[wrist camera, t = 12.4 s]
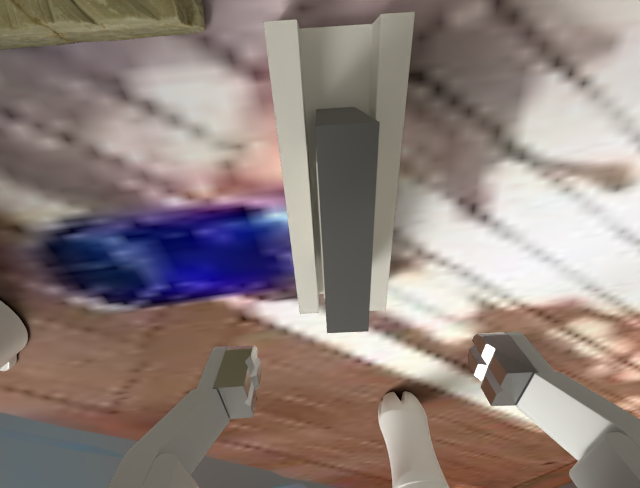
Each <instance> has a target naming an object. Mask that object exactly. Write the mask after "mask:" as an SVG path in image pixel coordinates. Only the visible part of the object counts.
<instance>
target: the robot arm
mask: <svg viewBox="0 0 640 488" xmlns="http://www.w3.org/2000/svg"><path fill="white" fill-rule="evenodd" d="M27 341H28V334H27V330H26V328H25V326H24V324H23V322H22V321H21V320H20V318H19V317H18V316H17V315H16V314H15V313H14V312H13V311H12V310H11V309H10V308H9V307H8V306H7V305H5V304H4V303H3V302H2V301H0V371H6V370H8V369H10V368H11V367H12V366H14V365H15V364H16V361H17V353H18V352H19V351H21V350H22V349H23V348H24V347H25V346H26V344H27ZM472 341H473V343H474V346H473V347H471V348H470V349H469V352H468V363H469V366H470V368H471V370H472V372H473V374H474V376H476V377H477V378H478V379H480V380H481V381H482V382H481V389H482V390H483V392H484V394H485V396H486V397H487V399H488V401H489V403H490V405H491V406H506V405H517V406H516V407H517V408H518V409H519V410H520V411H522V412H523V413H524V414H525V415H526V416H527V417H528V418H530V419H531V420H532V421H533V422H534V423H535V424H537V425H538V426H539V427H540V428H541V429H542V430H543V431H545V432H546V433H547V434H548V435H549V436H550V437H551V438H553V439H554V440H555V441H556V442H557V443H558V444H560V445H561V446H562V447H563V448H564V449H565V450H566V451H568V452H569V453H570V454H571V455H572V456H573V457H574V458H576V459H577V460H578V462H577V463H576V464H575V465H574V466H573V468H572V469H571V470H570V473H569V476H570V477H571V479H572V480H573V482H574V483H575V485H576V487H577V488H640V419H639V418H637V417H635V416H633V415H632V414H630V413H628V412H627V411H625V410H623V409H622V408H620V407H618V406H617V405H615V404H613V403H611V402H610V401H608V400H606V399H605V398H603V397H601V396H600V395H598V394H596V393H595V392H593V391H591V390H590V389H588V388H586V387H584V386H583V385H581V384H579V383H578V382H576V381H574V380H573V379H571V378H569V377H568V376H566V375H564V374H563V373H561V372H555V371H554V370H553V369H552V367H551V366H550V365H549V364H548V363H547V362H546V360H545V359H544V358H543V357H542V356H541V355H540V353H539V352H538V351H537V350H536V349H535V348H534V346H533V345H532V344H531V343H530V342H529V341H528V339H527V338H526V337H525V336H524V335H523V334H522V333H520V332H506V333H503V332H501V333H485V334H476V335H475V336H474V338H473V340H472ZM257 352H258V351H257V348H256V346H227V347H214V349H213V350H212V351H211V353H210V356H209V359H208V361H207V364H206V366H205V369H204V371H203V374H202V376H201V379H200V381H199V384H198V387H197V389H196V390H191V391H190V392H189V393H188V394H187V395H186V396H185V397H184V398H183V399H182V400H181V401H180V402H179V403H178V404H177V405H176V406H175V407H174V408H173V409H172V410H171V411H170V412H169V413H167V414H166V415H165V416H164V417H163V418H162V419H161V420H160V421H159V422H158V423H157V424H156V425H155V426H154V427H153V428H152V429H151V430H150V431H149V432H148V433H147V434H146V435H144V436H143V437H142V438H141V439H140V440H139V441H138V442H137V443H136V444H135V445H134V446H133V447H132V448H131V449H130V450H129V451H128V452H127V453H126V454H125V456H124V458H123V460H122V462H121V464H120V465H119V467H118V469H117V471H116V473H115V475H114V477H113V479H112V481H111V483H110V485H109V487H108V488H199V487H198V486H197V484H196V482H195V481H194V480H193V478H192V477H191V473H192V472H193V470H194V469H195V468H196V466H197V465H198V464H199V462H200V461H201V460H202V458H203V457H204V455H205V454H206V453H207V451H208V450H209V449H210V447H211V446H212V444H213V443H214V442H215V440H216V439H217V437H218V436H219V435H220V433H221V432H222V431H223V429H224V428H225V426H226V425H227V424H228V422H229V421H230V420H229V419H236V418H249V417H254V412H255V407H256V402H257V395H256V392H255V390H256V389H257V388H258V387H259V386H260V380H261V363H260V359H258V358H257Z"/></svg>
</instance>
